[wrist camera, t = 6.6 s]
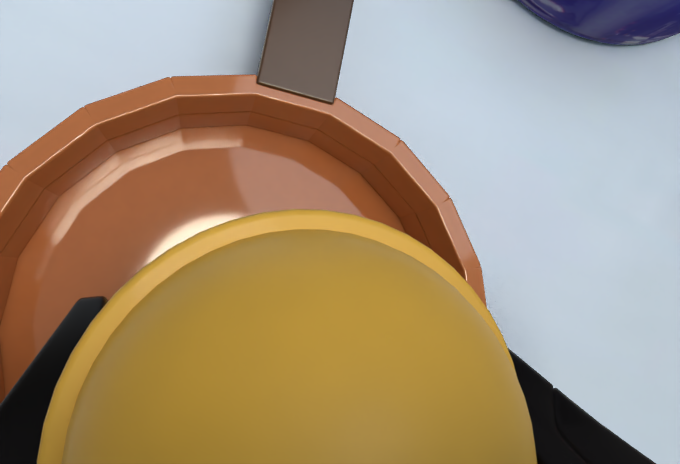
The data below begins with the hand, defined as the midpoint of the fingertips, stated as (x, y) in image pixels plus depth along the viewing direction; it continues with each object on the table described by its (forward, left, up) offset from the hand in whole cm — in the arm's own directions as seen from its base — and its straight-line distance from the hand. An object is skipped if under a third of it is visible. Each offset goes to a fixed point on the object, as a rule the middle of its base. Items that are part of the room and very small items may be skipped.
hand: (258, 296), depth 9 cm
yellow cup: (-1, 0, -7) cm, 7 cm away
